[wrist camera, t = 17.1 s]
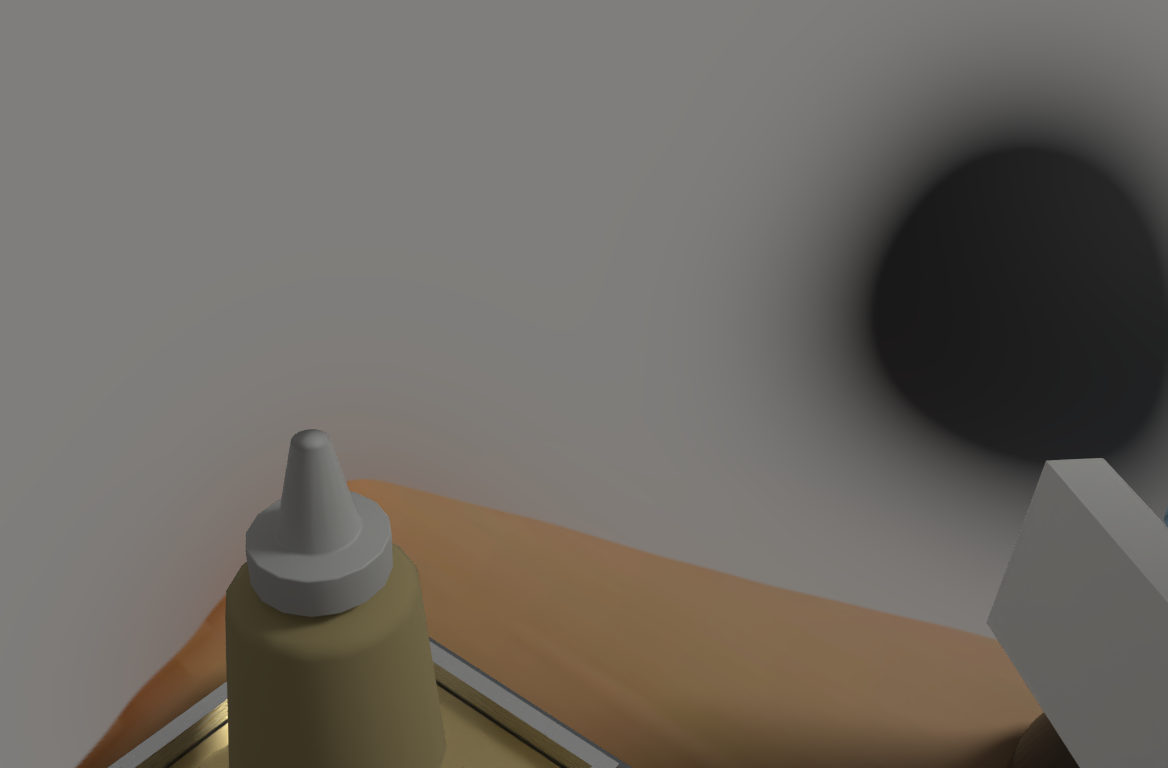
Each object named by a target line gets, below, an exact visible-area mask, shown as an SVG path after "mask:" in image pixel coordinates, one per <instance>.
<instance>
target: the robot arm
mask: <svg viewBox="0 0 1168 768" xmlns="http://www.w3.org/2000/svg"><path fill="white" fill-rule="evenodd" d="M1164 521H1165V523H1166V525H1165V524H1164V523H1163V522H1162V521H1161V520H1160V519H1159V518H1158V517H1157V516H1156V514H1155V513H1154V512H1153V511H1152V510H1151V509H1150V508H1149V507H1148V506H1147V505H1146V504H1145V503H1144V502H1143V501H1142V500H1141V498H1140V497H1138V495H1137V494H1136V493H1135V492H1134V491H1133V490H1132V489H1131V488H1130V487H1129V486H1128V485H1127V484H1126V482H1125V481H1124V480H1123V479H1122V478H1121V477H1120V476H1119V475H1118V474H1117V473H1116V472H1115V471H1114V469H1113V468H1112V467H1111V466H1110V465H1109V464H1108V463H1107V462H1106V461H1105V460H1104V459H1103V458H1098V459H1097V458H1096V459H1074V460H1053V461H1046V463H1045V466H1044V468H1043V471H1042V474H1041V477H1040V479H1039V482H1038V485H1037V487H1036V490H1035V493H1034V495H1033V498H1032V501H1031V504H1030V506H1029V509H1028V512H1027V514H1026V517H1025V520H1024V523H1023V525H1022V528H1021V531H1020V533H1019V536H1018V539H1017V542H1016V544H1015V547H1014V550H1013V552H1012V555H1011V558H1010V561H1009V563H1008V566H1007V569H1006V572H1005V574H1004V577H1003V579H1002V582H1001V585H1000V588H999V590H998V593H997V596H996V599H995V601H994V604H993V607H992V609H991V612H990V615H989V618H988V620H987V624H988V625H989V627H990V628H991V630H992V632H993V633H994V635H995V636H996V638H997V639H998V641H999V643H1000V644H1001V646H1002V647H1003V649H1004V650H1005V652H1006V653H1007V655H1008V657H1009V658H1010V660H1011V661H1012V663H1013V664H1014V666H1015V667H1016V669H1017V671H1018V672H1019V674H1020V675H1021V677H1022V678H1023V680H1024V681H1025V683H1026V685H1027V686H1028V688H1029V689H1030V691H1031V692H1032V694H1033V695H1034V697H1035V699H1036V700H1037V702H1038V703H1039V705H1040V706H1041V708H1042V709H1043V711H1044V713H1042V714H1041V715H1040V716H1039V717H1038V718H1037V719H1036V720H1035V721H1034V722H1033V723H1032V724H1031V725H1030V726H1029V728H1028V729H1027V730H1026V732H1025V733H1024V735H1023V736H1022V738H1021V740H1020V741H1019V743H1018V745H1017V747H1016V749H1015V752H1014V754H1013V757H1012V759H1011V761H1010V764H1009V766H1008V768H1168V507H1167V510H1166V513H1165V517H1164Z"/></svg>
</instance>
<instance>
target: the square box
mask: <svg viewBox="0 0 1168 768" xmlns="http://www.w3.org/2000/svg"><path fill="white" fill-rule="evenodd" d="M429 642H430V648H431V654H432V660H433V666H434V672H435V678H436V684H437V690H438V697H439V703H440V709H441V715H442V721H443V727H444V733H445V739H446V746H447V748H446V751H445V755H444V758H443V761H442V764H441V768H632V767H630V766H629V765H627V764H626V763H624V762H622V761H621V760H619V759H618V758H616V757H615V756H613V755H612V754H610V753H608V752H607V751H605V750H604V749H602V748H601V747H599V746H598V745H596V744H594V743H593V742H591V741H590V740H588V739H587V738H585V737H584V736H582V735H580V734H579V733H577V732H576V731H574V730H573V729H571V728H570V727H568V726H567V725H565V724H563V723H562V722H560V721H559V720H557V719H556V718H554V717H553V716H551V715H549V714H548V713H546V712H545V711H543V710H542V709H540V708H539V707H537V706H535V705H534V704H532V703H531V702H529V701H528V700H526V699H525V698H523V697H521V696H520V695H518V694H517V693H515V692H514V691H512V690H511V689H509V688H508V687H506V686H504V685H503V684H501V683H500V682H498V681H497V680H495V679H494V678H492V677H490V676H489V675H487V674H486V673H484V672H483V671H481V670H480V669H478V668H476V667H475V666H473V665H472V664H470V663H469V662H467V661H466V660H464V659H462V658H461V657H459V656H458V655H456V654H455V653H453V652H452V651H450V650H449V649H447V648H445V647H444V646H442V645H441V644H439V643H438V642H436V641H435V640H433V639H431V638H430V637H429ZM108 768H229V749H228V706H227V682H225V683H224V684H223V685H221V686H220V687H218V688H217V689H216V690H214V691H213V692H211V693H210V694H209V695H207V696H206V697H205V698H203V699H202V700H200V701H199V702H198V703H196V704H195V705H194V706H192V707H191V708H189V709H188V710H187V711H185V712H184V713H182V714H181V715H180V716H178V717H177V718H176V719H174V720H173V721H171V722H170V723H169V724H167V725H166V726H165V727H163V728H162V729H160V730H159V731H158V732H156V733H155V734H154V735H152V736H151V737H149V738H148V739H147V740H145V741H144V742H142V743H141V744H140V745H138V746H137V747H136V748H134V749H133V750H131V751H130V752H129V753H127V754H126V755H125V756H123V757H122V758H120V759H119V760H118V761H116V762H115V763H113V764H112V765H111V766H109V767H108Z"/></svg>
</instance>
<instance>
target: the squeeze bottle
mask: <svg viewBox="0 0 1168 768" xmlns="http://www.w3.org/2000/svg"><path fill="white" fill-rule="evenodd" d="M246 556H247V562H246V563H245V564H243V565H242V566H241V568H240V570H239V571H238V573H237V575H236V576H235V578H234V579H233V581H232V583H231V584H230V586H229V587H228V589H227V591H226V616H225V620H226V663H227V706H228V749H229V768H441V764H442V761H443V758H444V755H445V751H446V748H447V746H446V739H445V733H444V727H443V721H442V715H441V709H440V703H439V697H438V690H437V684H436V678H435V672H434V666H433V660H432V654H431V648H430V642H429V635H428V629H427V623H426V617H425V611H424V605H423V599H422V593H421V587H420V581H419V575H418V570H417V567H416V565H415V564H414V563H413V562H412V561H411V560H410V558H409V557H408V556H407V555H406V554H405V553H404V551H403V550H402V549H401V548H400V547H399V546H397V545H395V544H393V543H392V534H391V528H390V521H389V517H388V515H387V514H386V513H385V512H384V511H383V510H382V509H381V507H380V506H379V505H378V504H377V503H376V502H374V501H372V500H370V499H368V498H366V497H364V496H362V495H360V494H357V493H355V492H351V491H349V489H348V486H347V483H346V481H345V478H344V475H343V473H342V470H341V467H340V464H339V461H338V459H337V456H336V453H335V450H334V448H333V445H332V442H331V439H330V437H329V435H328V434H327V433H326V432H324V431H321V430H316V429H310V430H304V431H301V432H299V433H297V434H295V435H294V436H293V437H292V439H291V443H290V449H289V455H288V461H287V468H286V474H285V480H284V487H283V493H282V499H280V500H278V501H276V502H275V503H273V504H272V505H271V506H269V507H268V508H266V509H265V510H264V511H262V512H261V513H259V514H258V515H257V517H256V518H255V520H254V521H253V523H252V524H251V526H250V528H249V529H248V531H247V532H246Z"/></svg>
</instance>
